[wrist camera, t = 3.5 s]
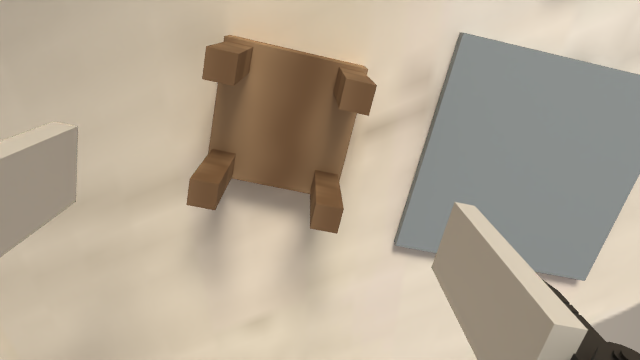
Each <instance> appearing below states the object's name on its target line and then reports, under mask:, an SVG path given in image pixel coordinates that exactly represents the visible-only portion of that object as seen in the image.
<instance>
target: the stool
mask: <svg viewBox="0 0 640 360" xmlns="http://www.w3.org/2000/svg"><path fill="white" fill-rule="evenodd" d="M367 71H368V69H367V68H366V67H365V66H362V65H357V64H353V63H349V62H344V61H340V60H336V59H331V58H327V57H323V56H318V55H314V54H310V53H306V52H301V51H297V50H293V49H288V48H284V47H280V46H275V45H271V44H267V43H262V42H258V41H254V40H249V39H245V38H241V37H236V36H232V35H228V36H224V42H222V43H218V44H214V45H210V46H206V52H205V60H204V68H203V76H202V79H204V80H209V81H213V82H218V86H217V94H216V101H215V108H214V115H213V123H212V130H211V137H210V145H209V152H208V155H207V157H206V158H205V159H204V161H203V162H202V163H201V165H200V166H199V167H198V169H197V170H196V171H195V173H194V174H193V175H192V176H191V178H190V181H189V189H188V197H187V205H190V206H195V207H201V208H206V209H211V210H215V209H216V207H217V205H218V203H219V201H220V199H221V197H222V195H223V193H224V191H225V189H226V187H227V185H228V183H229V181H230V179H231V178H233V179H238V180H243V181H248V182H253V183H258V184H263V185H268V186H273V187H278V188H283V189H288V190H293V191H298V192H303V193H308V194H310V228H311V229H316V230H321V231H326V232H332V233H337V232H338V228H339V225H340V221H341V217H342V213H343V210H344V208H343V202H342V197H341V191H340V185H339V180H340V176H341V173H342V169H343V165H344V161H345V157H346V153H347V149H348V145H349V141H350V137H351V134H352V130H353V126H354V122H355V118H356V114H357V113H359V114H363V115H368V116H369V112H370V109H371V105H372V101H373V97H374V94H375V90H376V86H377V85H376V84H375V83H374V82H373V81H372V80H371V79H370V78H369V77H368V76H367Z"/></svg>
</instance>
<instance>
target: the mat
mask: <svg viewBox="0 0 640 360" xmlns="http://www.w3.org/2000/svg"><path fill="white" fill-rule="evenodd" d="M639 174H640V75H638V74H634V73H630V72H625V71H621V70H617V69H613V68H609V67H605V66H600V65H596V64H592V63H588V62H584V61H579V60H575V59H571V58H567V57H563V56H559V55H554V54H550V53H546V52H542V51H538V50H533V49H529V48H525V47H521V46H517V45H513V44H508V43H504V42H500V41H496V40H492V39H487V38H483V37H479V36H475V35H471V34H467V33H460V35H459V38H458V41H457V44H456V47H455V50H454V54H453V57H452V60H451V63H450V66H449V69H448V73H447V76H446V79H445V82H444V85H443V88H442V92H441V95H440V98H439V101H438V104H437V107H436V111H435V114H434V117H433V120H432V123H431V126H430V130H429V133H428V136H427V139H426V142H425V145H424V149H423V152H422V155H421V158H420V161H419V164H418V168H417V171H416V174H415V177H414V180H413V183H412V187H411V190H410V193H409V196H408V199H407V202H406V206H405V209H404V212H403V215H402V218H401V221H400V225H399V228H398V231H397V234H396V237H395V240H394V242H395V245H396V246H400V247H406V248H411V249H416V250H422V251H427V252H432V253H437V250H438V248H439V245H440V242H441V239H442V236H443V233H444V231H445V228H446V225H447V222H448V219H449V216H450V214H451V211H452V208H453V205H454V202H458V203H463V204H468V205H473V206H475V207H476V208H477V209H478V210H479V211H480V212H481V213H482V214H483V215H484V216H485V218H486V219H487V220H488V221H489V222H490V223H491V224H492V225H493V226H494V227H495V229H496V230H497V231H498V232H499V233H500V234H501V235H502V236H503V237H504V238H505V240H506V241H507V242H508V243H509V244H510V245H511V246H512V247H513V248H514V249H515V250H516V252H517V253H518V254H519V255H520V256H521V257H522V258H523V259H524V260H525V261H526V263H527V264H528V265H529V266H530V267H531V268H532V269H533V270H534V271H535V272H540V273H545V274H551V275H556V276H561V277H567V278H572V279H577V280H583V281H585V280H586V278H587V276H588V274H589V272H590V270H591V268H592V266H593V264H594V262H595V260H596V258H597V256H598V254H599V252H600V250H601V248H602V246H603V244H604V242H605V240H606V238H607V237H608V235H609V233H610V231H611V229H612V227H613V225H614V223H615V221H616V219H617V217H618V215H619V213H620V211H621V209H622V207H623V205H624V203H625V201H626V199H627V197H628V195H629V194H630V192H631V190H632V188H633V186H634V184H635V182H636V180H637V178H638V176H639Z"/></svg>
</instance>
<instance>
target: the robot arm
mask: <svg viewBox="0 0 640 360" xmlns="http://www.w3.org/2000/svg"><path fill="white" fill-rule="evenodd" d="M77 143H78V126H75V125H70V124H65V123H60V122H55V121H54V122H51V123H48V124H45V125H43V126H40V127H37V128H34V129H32V130H29V131H26V132H23V133H21V134H18V135H15V136H12V137H10V138H7V139H4V140H1V141H0V257H1V256H3V255H4V254H5V253H7V252H8V251H9V250H11V249H12V248H14V247H15V246H16V245H18V244H19V243H20V242H22V241H23V240H24V239H26V238H27V237H28V236H30V235H31V234H33V233H34V232H35V231H37V230H38V229H39V228H41V227H42V226H43V225H45V224H46V223H47V222H49V221H50V220H52V219H53V218H54V217H56V216H57V215H58V214H60V213H61V212H62V211H64V210H65V209H66V208H68V207H69V206H71V205H72V204H73V203H75V202H76V180H77ZM432 269H433V271H434V273H435V275H436V277H437V279H438V281H439V284H440V286H441V288H442V290H443V292H444V294H445V296H446V298H447V300H448V302H449V304H450V306H451V308H452V310H453V312H454V314H455V316H456V318H457V320H458V322H459V324H460V326H461V328H462V330H463V332H464V334H465V336H466V338H467V340H468V342H469V344H470V346H471V348H472V350H473V352H474V354H475V356H476V358H477V360H640V354H639V353H638V352H636V351H634V350H632V349H630V348H627V347H625V346H623V345H619V344H616V343H612V342H606V341H605V340H604V339H603V338H602V337H601V336H600V335H599V334H598V333H597V332H596V331H595V330H594V328H593V327H592V326H591V325H590V324H589V323H588V322H587V321H586V320H585V319H584V318H583V317H582V316H581V315H579V314H578V313H579V312H578V311H577V310H576V309H575V308H574V307H573V306H572V305H569V302H568V301H567V300H566V298H565V297H564V296H563V295H562V294H561V293H560V292H559V291H558V290H556V289H555V288H554V287H552V286H551V285H549V284H548V283H547V282H545V281H544V280H542V279H541V278H540V277H539V276H538V275H537V274H536V272H535V271H534V270H533V269H532V268H531V267H530V266H529V265H528V264H527V263H526V261H525V260H524V259H523V258H522V257H521V256H520V255H519V254H518V253H517V252H516V250H515V249H514V248H513V247H512V246H511V245H510V244H509V243H508V242H507V241H506V240H505V238H504V237H503V236H502V235H501V234H500V233H499V232H498V231H497V230H496V229H495V227H494V226H493V225H492V224H491V223H490V222H489V221H488V220H487V219H486V218H485V216H484V215H483V214H482V213H481V212H480V211H479V210H478V209H477V208H476V207H475V206H473V205H468V204H463V203H458V202H454V205H453V208H452V211H451V214H450V216H449V219H448V222H447V225H446V228H445V231H444V233H443V236H442V239H441V242H440V245H439V248H438V250H437V253H436V256H435V259H434V262H433V265H432Z"/></svg>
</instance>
